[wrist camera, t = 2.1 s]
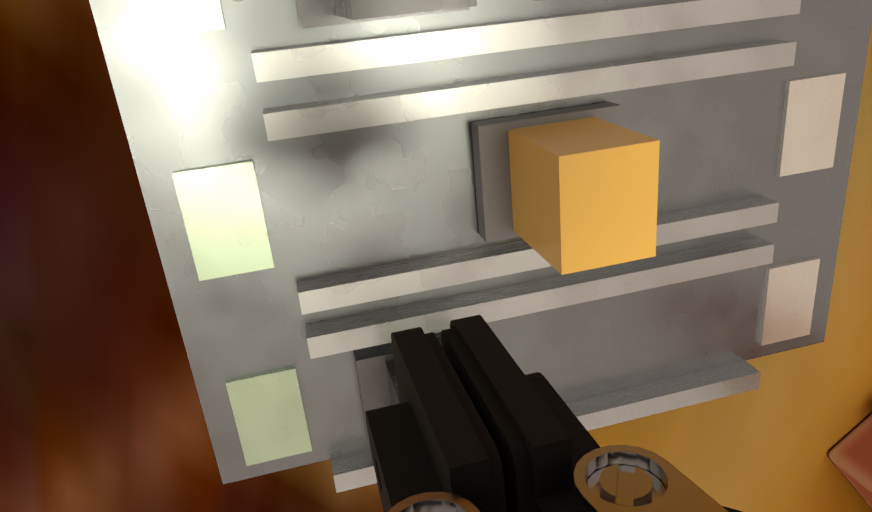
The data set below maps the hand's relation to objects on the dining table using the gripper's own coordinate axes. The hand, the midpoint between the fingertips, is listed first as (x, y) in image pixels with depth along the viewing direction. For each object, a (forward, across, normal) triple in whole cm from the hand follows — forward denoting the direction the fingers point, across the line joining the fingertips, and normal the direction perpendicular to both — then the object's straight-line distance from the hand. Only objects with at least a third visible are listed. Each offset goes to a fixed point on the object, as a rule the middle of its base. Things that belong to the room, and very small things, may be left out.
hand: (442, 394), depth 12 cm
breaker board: (+13, -7, -1) cm, 15 cm away
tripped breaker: (+11, -7, -1) cm, 13 cm away
